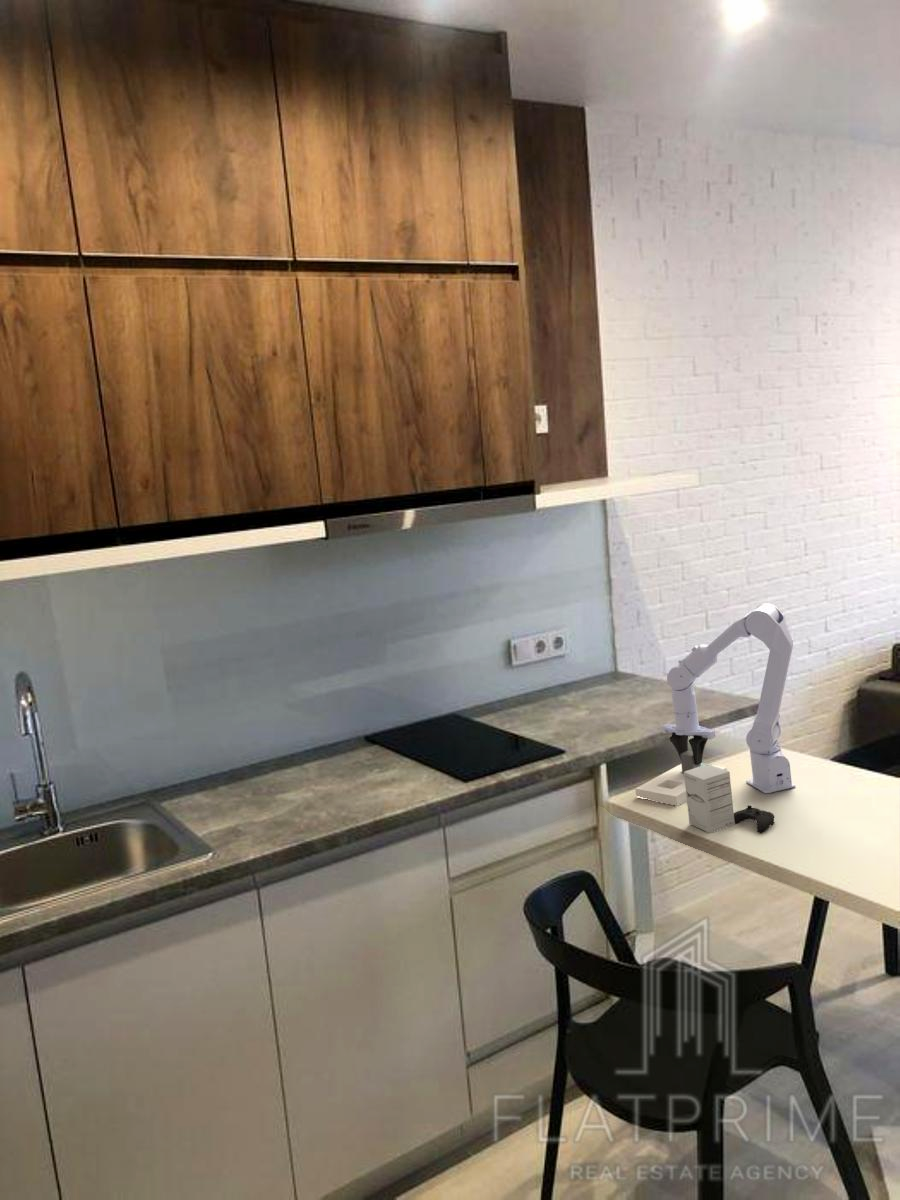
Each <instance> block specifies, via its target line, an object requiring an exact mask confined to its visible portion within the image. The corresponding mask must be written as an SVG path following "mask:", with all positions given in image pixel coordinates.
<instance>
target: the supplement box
mask: <svg viewBox="0 0 900 1200" xmlns="http://www.w3.org/2000/svg"><path fill="white" fill-rule="evenodd" d="M705 764H706V765H703V766H700V767H697V768H694V769H691V770H688V771H685V772H684V779H685V788H686V797H687V801H686V805H687V813H688V814H687V815H688V824H689V825H691V826H694V827H696V828H699V829H701V830H702V831H705V832H706V833H708V832H709V834H712V833H711V832H713V833H715V832H714V831H716V832H718V831H721V830H724V829H727V828H730V827H732V826H735V825H736V824H735V821H734V813H735V812H734V804H733V802H734V801H733V792H732V784H731V783H732V782H731V773H730V771H728V770H727V771H726V770H723V769H720V768H718V767H715V766H712V765H713V764H712V765H709V764H710V763H705ZM726 827H727V828H726ZM723 828H724V829H723ZM720 829H721V830H720ZM717 830H718V831H717Z"/></svg>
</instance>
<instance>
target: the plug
mask: <svg viewBox="0 0 900 1200" xmlns="http://www.w3.org/2000/svg"><path fill="white" fill-rule="evenodd" d="M680 756H681V759H680V764H681V765H682V773H683V774H684V772H685V771H688V770H691V769H694V768H697V767H700V766H701V764H699V765H695V763H694V758H693V752H692V750H689V749H688V750H687V751H686V752H684V753H682V754H680Z"/></svg>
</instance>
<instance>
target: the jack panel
mask: <svg viewBox="0 0 900 1200" xmlns="http://www.w3.org/2000/svg"><path fill="white" fill-rule="evenodd" d="M706 764H707V763H704V762H702V763H701V766H703V765H706ZM708 764H709V765H712V766H715V767H718V768H720V769H723V770H726V771H728V768H727V766H721V765H716V764H711V763H708ZM636 795H637V796H640V797H643V798H647V799H650V800H654V801H657V802H656V803H658V802H662V803H661V804H663V803H667V804H666V805H668V804H672V805H671V806H673V805H675V806H674V807H679V806H680V804H681V805H683V804H684V803H686V802H687V797H686V788H685V779H684V774H683V773H682V765H681V763H680V764H678V765H676V766H674V767H673V768H670V769H669V770H667V771H665V772H663V773H661V774H659V775H658V776H656V777H654V778H652V779H650V780H649V781H646V782H645V783H643V784H641V785H639V786H638V787H635V796H636ZM685 801H686V802H685ZM678 805H679V806H678Z"/></svg>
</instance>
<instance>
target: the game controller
mask: <svg viewBox="0 0 900 1200" xmlns="http://www.w3.org/2000/svg"><path fill="white" fill-rule="evenodd" d="M746 820H752V821H755V822H756V832H757V833H758V834H763V832H764V833H765V832H766V831H767V830H768V829H769V828H770V827H771V826H773V825H774V824H775V814H774V813H773V812H770V811H767V810H763V809H761V808H758V807H753V806H752V805H746V808H744V809H741V810H737V811H735V812H734V821H735V825H738V824H740V823H743V822H744V821H746Z"/></svg>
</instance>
